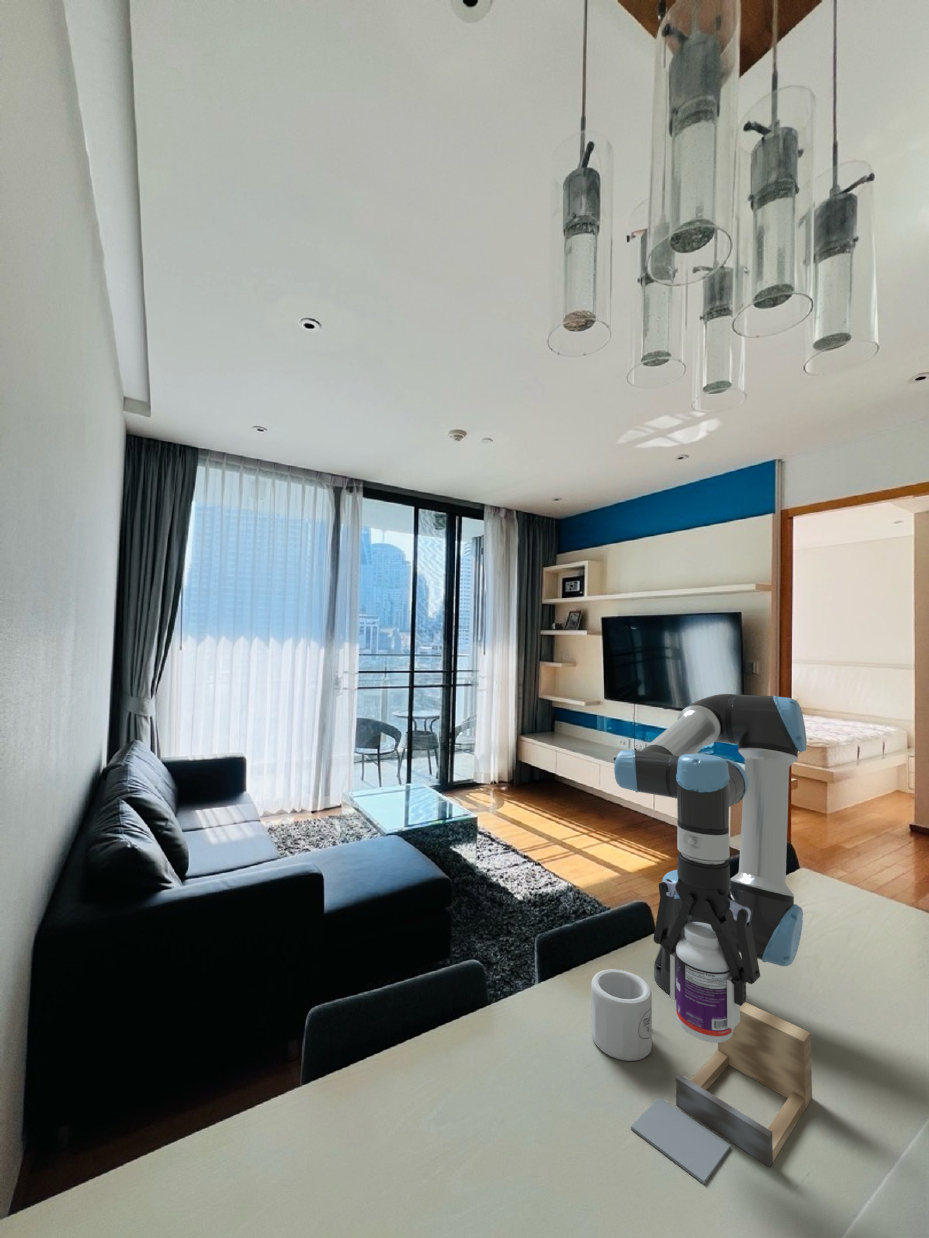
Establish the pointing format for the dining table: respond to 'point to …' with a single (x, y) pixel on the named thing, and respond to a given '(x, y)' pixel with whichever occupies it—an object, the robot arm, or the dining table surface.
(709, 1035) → the pill bottle
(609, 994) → the mug
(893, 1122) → the dining table surface
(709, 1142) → the mat
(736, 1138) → the wooden bottle holder
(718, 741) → the robot arm
